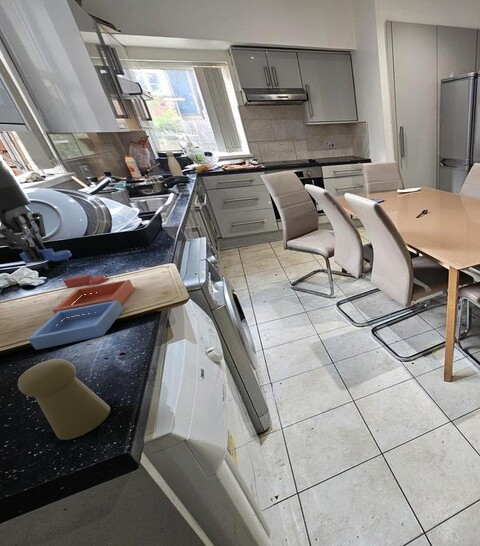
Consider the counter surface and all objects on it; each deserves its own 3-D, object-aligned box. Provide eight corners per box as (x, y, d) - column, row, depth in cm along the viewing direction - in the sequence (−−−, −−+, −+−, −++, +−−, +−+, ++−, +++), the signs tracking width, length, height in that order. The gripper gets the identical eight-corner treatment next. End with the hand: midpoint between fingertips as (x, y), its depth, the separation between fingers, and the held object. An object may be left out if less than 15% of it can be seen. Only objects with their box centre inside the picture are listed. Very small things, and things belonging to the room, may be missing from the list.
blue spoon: (22, 265, 72) (16, 256, 71) (32, 259, 75) (26, 250, 74) (67, 259, 75) (61, 249, 73) (74, 253, 77) (69, 244, 76)
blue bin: (36, 350, 62) (27, 339, 61) (65, 321, 70) (57, 311, 69) (104, 336, 65) (96, 325, 64) (124, 310, 73) (118, 300, 72)
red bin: (59, 321, 71) (52, 310, 69) (83, 298, 79) (76, 288, 78) (118, 309, 74) (112, 299, 72) (134, 289, 82) (129, 279, 81)
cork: (117, 399, 50) (79, 347, 45) (101, 431, 45) (56, 376, 40) (70, 412, 49) (25, 359, 43) (47, 447, 44) (-7, 392, 38)
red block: (65, 290, 83) (60, 282, 82) (73, 284, 86) (68, 276, 85) (103, 283, 86) (98, 276, 84) (108, 278, 88) (104, 270, 87)
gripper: (-7, 180, 70) (39, 251, 79) (-62, 194, 59) (-1, 275, 67) (36, 177, 73) (76, 246, 81) (-9, 190, 61) (44, 269, 70)
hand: (41, 259), depth 74 cm, fingers closed on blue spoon, 1 cm apart
